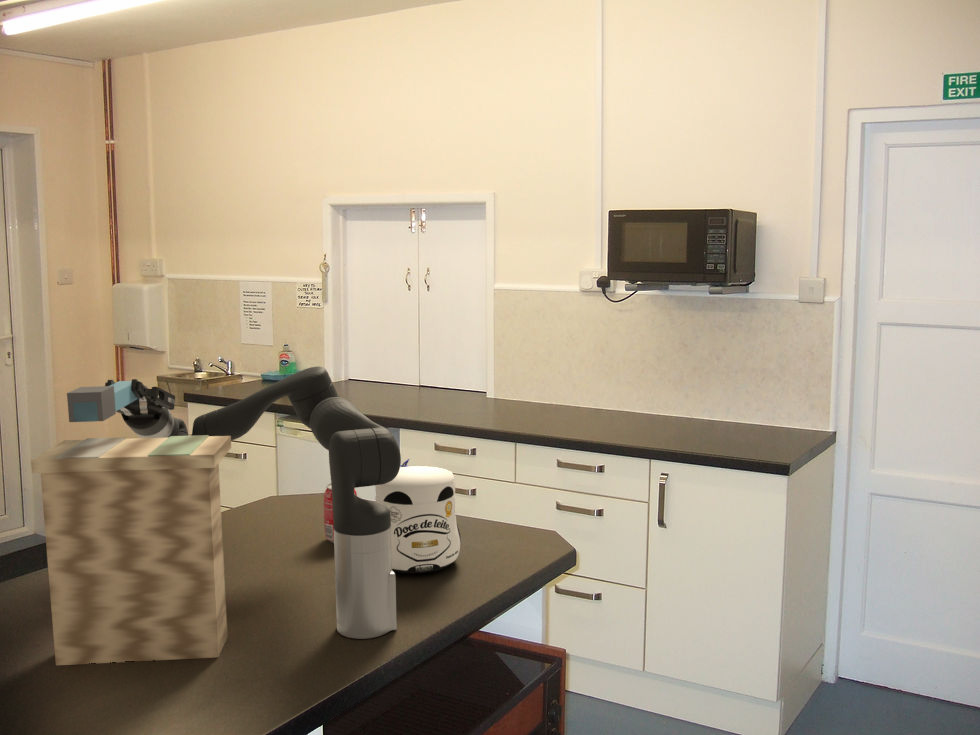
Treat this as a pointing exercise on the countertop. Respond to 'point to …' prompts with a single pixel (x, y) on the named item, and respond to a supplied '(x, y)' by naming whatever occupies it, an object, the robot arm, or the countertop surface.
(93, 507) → the wavy striped plinth
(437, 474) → the doce de leite tub
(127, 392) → the two-tone rectangular bar
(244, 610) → the countertop surface
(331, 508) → the soda can
